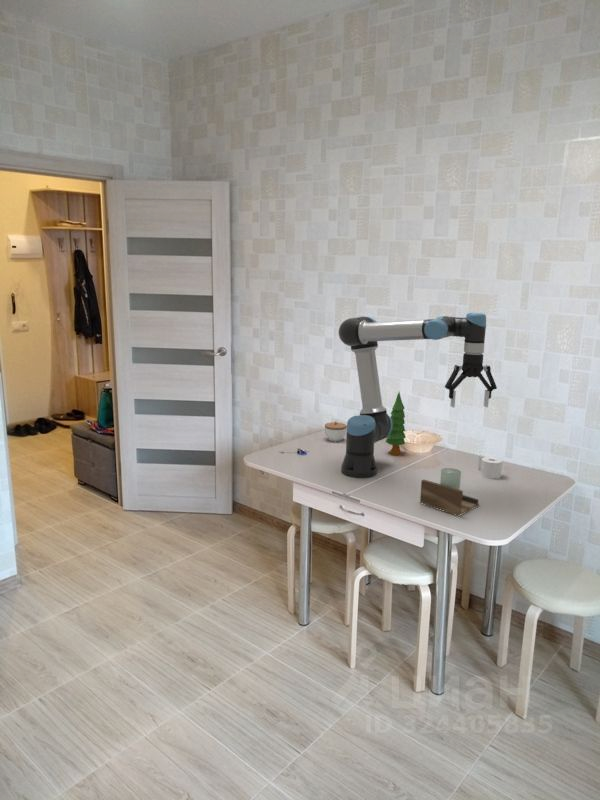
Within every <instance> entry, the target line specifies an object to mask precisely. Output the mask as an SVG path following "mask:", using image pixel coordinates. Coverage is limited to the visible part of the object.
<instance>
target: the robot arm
mask: <svg viewBox="0 0 600 800" xmlns="http://www.w3.org/2000/svg"><path fill="white" fill-rule="evenodd" d="M486 330H487V315H486V314H485V313H482V312H468V313H466V316H465V317H456V316H448V315H447V316H446V315H444V316H442V315H441V316H437V317H436V318H431V319H430V318H429V319H414V320H413V319H412V320H411V319H410V320H395V321H394V320H393V321H378V322H377V321H376V319H374V318H373V317H370V316H360V317H359V316H358V317H352V318H348V319H347V318H346V319H345V320H344V321H343V322H342V323H341V324H340V326H339V329H338V336H339V337H338V338H339V339H340V341H341V342H342V343H343V344H344V345H347V346H348V347H350V351H351V352H353V353H354V355H355V362H356V363H355V364H356V369H357V376H358V383H359V391H360V399H361V404H362V407H361V408H362V409H361V410H360V411H359V415H354V416H351V417H349V418H348V420H347V423H346V435H345V436H346V438H345V439H346V440H345V445H346V447H345V455H344V458H343V461H342V462H341V468H340V469H341V470H340V471H341V473H342V474H344V475H345V476H349V477H354V478H371V477H373V476H376V475H377V473H378V466H377V462H376V460H375V456H374V452H375V451H374V450H375V443H377V442H380V441H382V440H384V439H387V438H386V437H387V436H388V435H389V434H390V432H391V430H392V426H393V424H392V420H391V418H390V417H391V415H389V414H388V412H387V407H385V406H384V405H383V402H382V400H383V399H382V394H381V393H382V392H381V386H380V385H381V384H380V378H379V370H378V364H377V362H378V361H377V355H376V350H377V348H378V347H379V346H378V345H379V344H378V342H388V341H389V342H391V341H392V342H393V341H394V342H395V341H412V340H413V341H415V340H417V341H418V340H433V341H437V340H442V339H444V338H448V337H459V338H460V337H461V338H464V341H463V342H464V345H463V352H464V353H463V355H462V365H457V364H455V365H454V367H453V371H452V373H451V374H450V377H449V378H448V380H447V381H446V383H445V385H444V388H445V389H446V390H448V398H449V399H450V404H449V405H450V407H451V408H455V407H456V406H455V405H456V394H457V391H456V389H457V387H459V385H460V384H461V383H462V382H463V381H464V380H465V379H466V378H467V377H468V378H477V377H478V379H479V380H480V381H481V383H482V384H483V386H484V387H485V388H486V389H484V397H483V398H484V399H483V406H484V407H485V408H489V401H490V399H491V398H492V392H493V391H494V390H497V389H498V387H497V384H496V382H495V379H494V376H493V375H492V371H491V369H492V368H491V366H490V365H488V364H486V365H484V366H483V363H484V354H483V353H484V351H485V339H486V338H485V337H486ZM461 371H462V372H461ZM483 371H484V372H485V375H486V377H487V380H488V381H489V383H488V381H487V380H486V378H485V377H484V375H483V374H482V372H483ZM460 372H461V373H460ZM459 373H460V374H459ZM458 375H459V376H458ZM457 376H458V377H457Z"/></svg>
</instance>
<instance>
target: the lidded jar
mask: <svg viewBox="0 0 600 800" xmlns="http://www.w3.org/2000/svg"><path fill="white" fill-rule="evenodd" d="M346 428H347V423H346V424H345V423H343V422H337V421H334V422H331V421H330V422H326V423H325V424H324V434H325V436H326V438H327V439H328V441H330V442H333V443H334V442H335V443H336V442H337V443H338V442H341V441H342V440H343V439H344V438H345V436H346V434H347V430H346Z"/></svg>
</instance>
